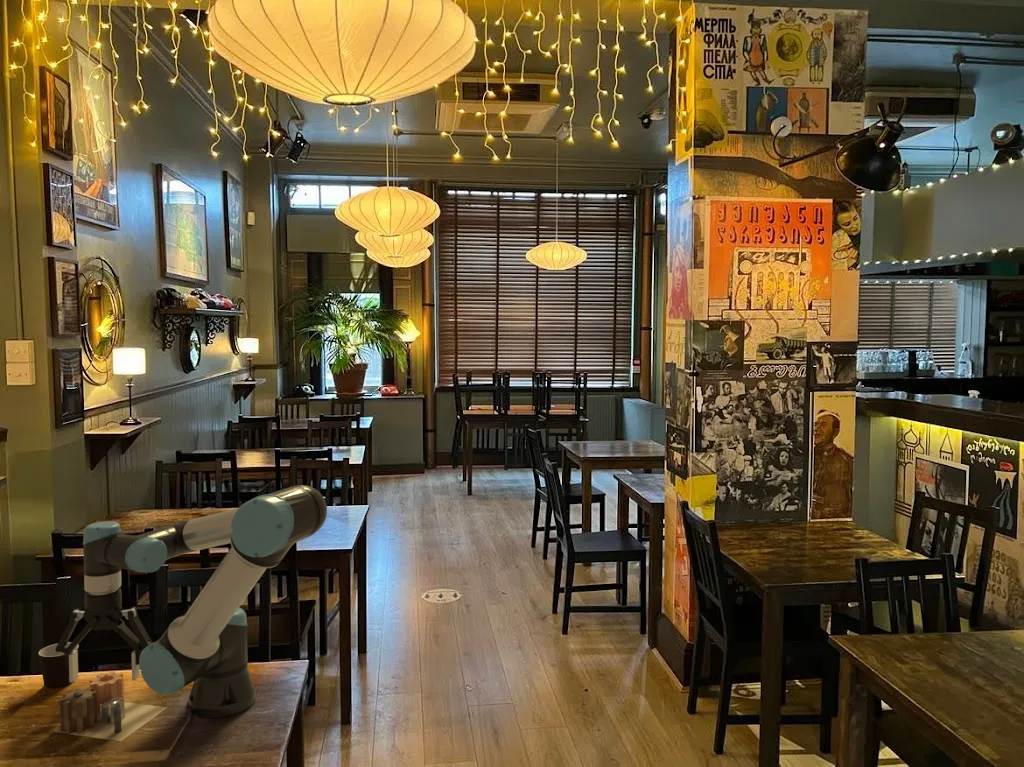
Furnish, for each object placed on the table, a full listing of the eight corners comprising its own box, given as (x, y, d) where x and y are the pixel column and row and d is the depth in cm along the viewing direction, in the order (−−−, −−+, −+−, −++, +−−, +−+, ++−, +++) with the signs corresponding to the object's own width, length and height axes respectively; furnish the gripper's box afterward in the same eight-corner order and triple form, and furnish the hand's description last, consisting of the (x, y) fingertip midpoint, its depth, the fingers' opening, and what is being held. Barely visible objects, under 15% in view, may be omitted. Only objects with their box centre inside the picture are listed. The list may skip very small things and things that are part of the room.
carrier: (167, 713, 177) (166, 686, 176) (121, 747, 162) (120, 718, 162) (105, 705, 180) (104, 679, 180) (54, 738, 166) (53, 709, 165)
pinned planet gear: (104, 719, 171) (103, 687, 170) (80, 736, 164) (79, 702, 163) (78, 716, 172) (77, 683, 172) (52, 732, 165) (51, 698, 165)
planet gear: (129, 699, 180) (128, 671, 180) (117, 714, 173) (116, 684, 173) (97, 701, 179) (96, 672, 179) (84, 716, 172) (83, 686, 172)
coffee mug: (61, 698, 184) (60, 658, 183) (31, 694, 186) (29, 655, 185) (96, 676, 195) (95, 639, 195) (68, 673, 197) (66, 636, 196)
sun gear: (129, 715, 173) (129, 698, 173) (113, 725, 168) (113, 708, 168) (111, 712, 174) (110, 695, 174) (95, 723, 169) (94, 706, 169)
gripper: (165, 582, 180) (166, 669, 181) (53, 585, 177) (55, 673, 178) (154, 593, 172) (155, 683, 174) (37, 596, 169) (39, 688, 171)
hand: (105, 678), depth 176 cm, fingers open, 13 cm apart
